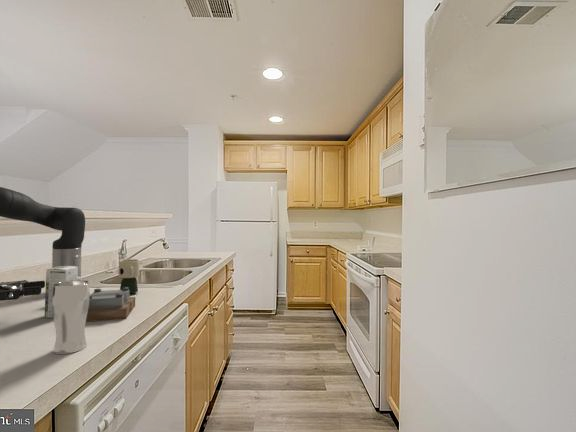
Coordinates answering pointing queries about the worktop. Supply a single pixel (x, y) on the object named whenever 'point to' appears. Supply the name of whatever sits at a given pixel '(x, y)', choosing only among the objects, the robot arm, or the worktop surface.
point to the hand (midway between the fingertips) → (43, 287)
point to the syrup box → (55, 277)
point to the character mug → (129, 274)
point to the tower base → (111, 312)
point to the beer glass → (70, 315)
